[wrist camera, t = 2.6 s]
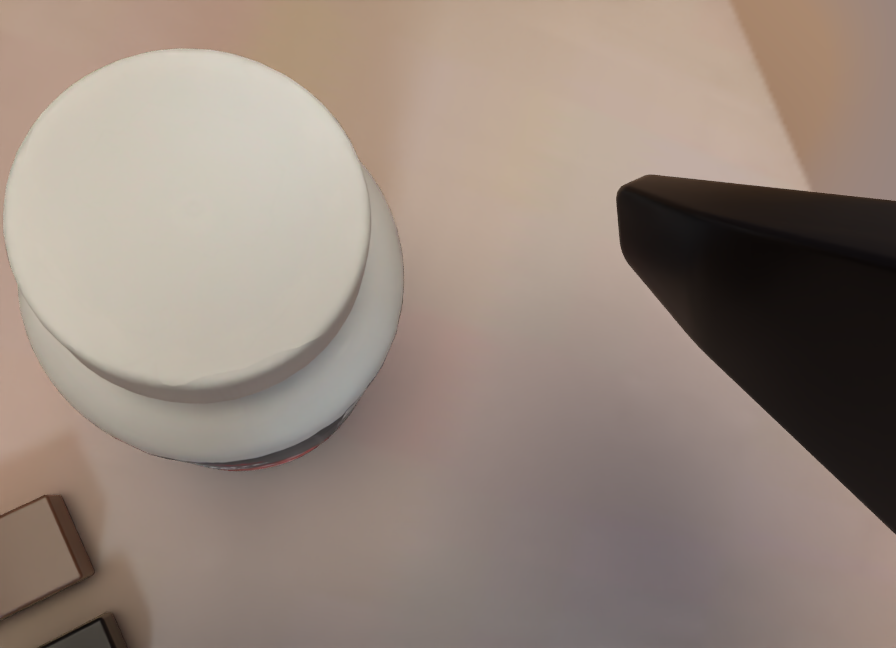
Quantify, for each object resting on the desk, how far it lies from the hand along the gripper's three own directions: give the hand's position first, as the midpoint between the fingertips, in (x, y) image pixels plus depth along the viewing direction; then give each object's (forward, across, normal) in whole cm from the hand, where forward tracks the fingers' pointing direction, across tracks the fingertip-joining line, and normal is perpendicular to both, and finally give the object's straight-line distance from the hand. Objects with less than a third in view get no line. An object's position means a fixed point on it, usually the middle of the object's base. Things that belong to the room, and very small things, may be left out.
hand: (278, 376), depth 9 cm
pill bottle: (+8, 0, +6) cm, 10 cm away
